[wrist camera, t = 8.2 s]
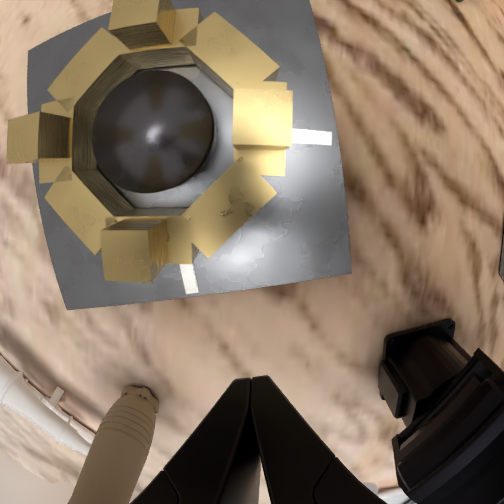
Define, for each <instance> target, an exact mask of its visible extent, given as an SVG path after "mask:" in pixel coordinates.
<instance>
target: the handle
mask: <svg viewBox="0 0 504 504" xmlns="http://www.w3.org/2000/svg"><path fill="white" fill-rule="evenodd" d="M158 407H159V402H158V400H157V399H155V398H154V397H153V396H152V394H151V393H150V390H148V389H147V388H145V387H142V388H137V387H133V386H128V387H126V388H125V389H124V391H123V392H122V396H121V397H120V398H119V399H118V400H117V401H116V402H115V403H114V404H113V406H112V407H111V408H110V410H109V411H108V413H107V414H106V416H105V417H104V419H103V421H102V422H101V424H100V426H99V428H98V430H97V432H96V434H95V437H94V439H93V442H92V444H91V447H90V450H89V452H88V455H87V457H86V460H85V463H84V466H83V468H82V471H81V473H80V476H79V478H78V481H77V484H76V486H75V489H74V492H73V494H72V497H71V499H70V500H69V502H68V504H129V501H130V499H131V496H132V493H133V491H134V488H135V486H136V483H137V481H138V478H139V476H140V473H141V471H142V469H143V466H144V464H145V461H146V459H147V456H148V453H149V450H150V446H151V443H152V438H153V434H154V428H155V419H156V415H155V413H158Z"/></svg>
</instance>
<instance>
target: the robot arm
mask: <svg viewBox="0 0 504 504" xmlns="http://www.w3.org/2000/svg"><path fill="white" fill-rule="evenodd" d="M449 325H450V326H449ZM448 326H449V327H448ZM454 331H455V321H453V320H452V319H447V320H443V321H440V322H436V323H433V324H429V325H426V326H422V327H418V328H414V329H411V330H407V331H403V332H399V333H395V334H391V335H388V336H387V337H386V338H385V341H384V354H383V361H382V362H381V364H380V373H379V384H378V387H379V389H380V397H381V399H382V400H386V402H387V404H388V406H389V408H390V410H391V412H392V414H393V416H394V417H395V418H397V419H398V418H402V420H403V422H404V424H405V426H406V428H405V429H404V430H403V431H402V432H401V433H400V434H397V435H396V436H395V437H394V438H392V445H393V452H394V460H395V467H396V475H397V480H398V485H399V487H400V488H402V490H403V492H404V493H405V494H406V495H407V496H408V497H409V498H410V499H411V500H412V501H414V502H415V503H417V504H504V371H503V370H502V369H501V368H500V367H499V366H498V365H497V364H495V363H494V362H493V361H492V360H491V359H490V358H489V357H488V356H487V355H486V354H485V353H484V352H483V351H482V350H480V349H479V348H477V350H476V351H475V352H474V353H473V354H474V355H473V357H471V356H470V355H469V354H468V353H467V352H466V351H465V350H464V349H463V348H462V347H461V346H460V345H459V344H458V343H457V342H456V341H455V340H454V339H453V337H454ZM391 340H393V341H392V342H391V343H389V342H390V341H391ZM261 463H262V467H263V471H264V476H265V480H266V484H267V488H268V493H269V497H270V501H271V504H387V503H386V502H384V501H383V500H382V499H380V498H379V497H378V496H377V495H375V494H374V493H373V492H372V491H370V490H369V489H368V488H367V487H366V486H365V485H363V484H362V483H361V482H360V481H359V480H358V479H357V478H356V477H355V476H354V475H353V474H352V473H351V472H350V471H349V470H348V469H347V468H346V467H345V466H344V464H343V463H342V462H341V461H340V460H339V459H338V458H337V457H335V455H334V453H333V452H332V451H331V450H330V449H329V448H328V447H327V445H326V444H325V443H324V442H323V441H322V440H321V439H320V437H319V436H318V435H317V434H316V433H315V431H314V430H313V429H312V428H311V427H310V426H309V424H308V423H307V422H306V421H305V420H304V418H303V417H302V416H301V415H300V414H299V412H298V411H297V410H296V409H295V408H294V406H293V405H292V404H291V403H290V401H289V400H288V399H287V398H286V397H285V395H284V394H283V393H282V392H281V390H280V389H279V388H278V387H277V385H276V384H275V383H274V382H273V380H272V379H271V378H270V377H269V376H268V375H264V376H257V377H253V378H252V380H251V378H239V379H235V380H233V382H232V383H231V384H230V385H229V387H228V388H227V389H226V391H225V392H224V393H223V395H222V396H221V397H220V399H219V400H218V401H217V402H216V404H215V405H214V406H213V408H212V409H211V410H210V411H209V413H208V414H207V415H206V417H205V418H204V419H203V420H202V422H201V423H200V424H199V425H198V427H197V428H196V429H195V430H194V432H193V433H192V434H191V435H190V436H189V438H188V439H187V440H186V441H185V443H184V444H183V445H182V446H181V447H180V449H179V450H178V451H177V452H176V454H175V455H174V456H173V457H172V458H171V459H170V461H169V462H168V463H167V464H166V465H165V467H164V468H163V470H164V471H160V472H159V473H158V475H157V476H156V477H155V478H154V479H153V480H152V481H151V483H150V484H149V485H148V486H147V487H146V488H145V489H144V490H143V491H142V492H141V493H140V494H139V495H138V496H137V497H136V498H135V499H134V500H133V501H132V502H131V503H130V504H258V498H259V485H260V471H261Z"/></svg>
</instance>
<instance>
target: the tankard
mask: <svg viewBox="0 0 504 504" xmlns="http://www.w3.org/2000/svg"><path fill="white" fill-rule="evenodd" d="M499 274H500V275H501V277H502V279H503V281H504V236H503V247H502V256H501V264H500V272H499Z"/></svg>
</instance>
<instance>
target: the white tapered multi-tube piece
mask: <svg viewBox="0 0 504 504" xmlns="http://www.w3.org/2000/svg"><path fill="white" fill-rule="evenodd" d="M28 382H29V380H28V379H24V378H23V373H22V372H21V371H18V372H17V371H15V370H14V369H13V368H12V367H11V366H10V365H9V363H8V362H7V361H6V360H5V359H4V358H3V357H2V356H1V355H0V406H3V405H5V406H7V407H9V408H10V409H12V410H13V411H15V412H17V413H18V414H20V415H22V416H23V417H25V418H27V419H28V420H30V421H31V422H33V423H34V424H35V425H36V426H38V427H39V428H40V429H42V430H43V431H44V432H46V433H47V434H48V435H50V436H51V437H52V438H54V439H55V440H56V442H57V443H59V442H60V443H62V444H64V445H66V446H68V447H70V448H71V449H73V451H75V450H77V451H79V452H80V453H82V454H84V455H85V456H87V455H88V452H89V450H90V447H91V444H92V442H93V439H94V437H95V434H94V433H93V432H91V431H90V430H88V429H87V428H85V427H84V426H83V425H81V424H80V423H78V422H77V421H76V420H74V419H73V416H71V417H70V416H69V415H67V414H66V413H65V412H63V411H62V410H61V408H60V407H59V406H58V405H57V403H58V401H59V400H60V398H61V397H62V395H63V394H64V391H63V390H62V389H61V388H59V387H58V386H57V388H56V389H55V391H54V393H53V394H52V396H51V397H50V398H48V397H47V396H45V395H42V394H41V393H40V392H39V391H38V390H36V389H35V388H34V387H33V386H32V385H31V384H30V383H28Z"/></svg>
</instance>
